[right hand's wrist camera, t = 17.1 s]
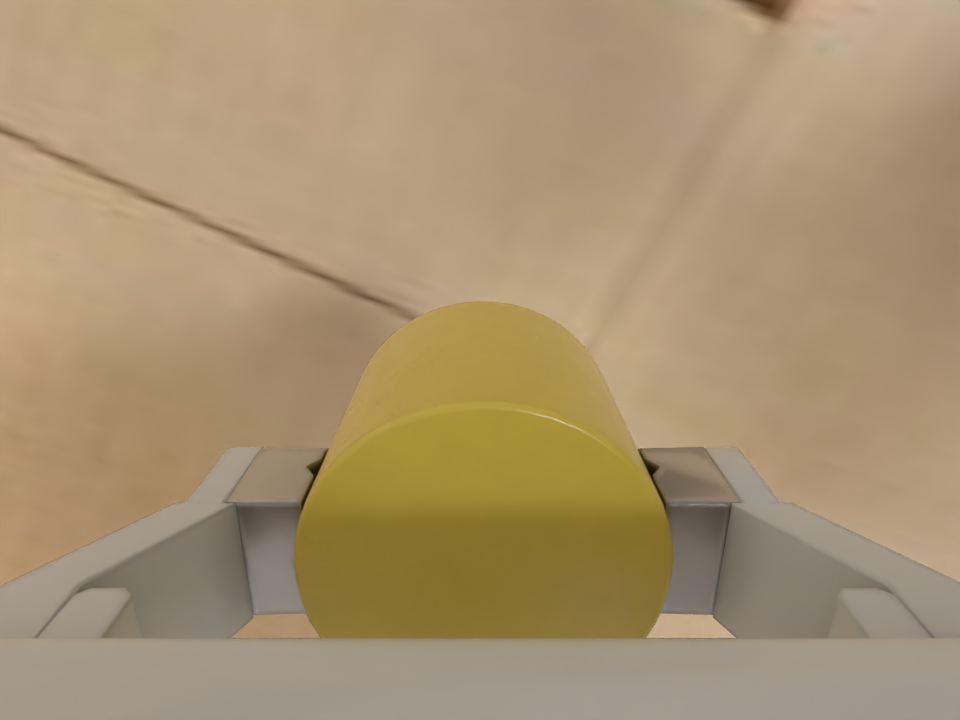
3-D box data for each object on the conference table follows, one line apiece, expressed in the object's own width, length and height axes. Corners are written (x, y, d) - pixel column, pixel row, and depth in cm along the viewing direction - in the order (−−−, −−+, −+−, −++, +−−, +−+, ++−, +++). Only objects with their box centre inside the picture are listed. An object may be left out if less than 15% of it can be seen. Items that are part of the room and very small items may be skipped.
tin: (593, 277, 11) (658, 370, 7) (623, 509, 12) (689, 690, 9) (323, 326, 11) (239, 441, 7) (387, 547, 13) (347, 737, 9)
